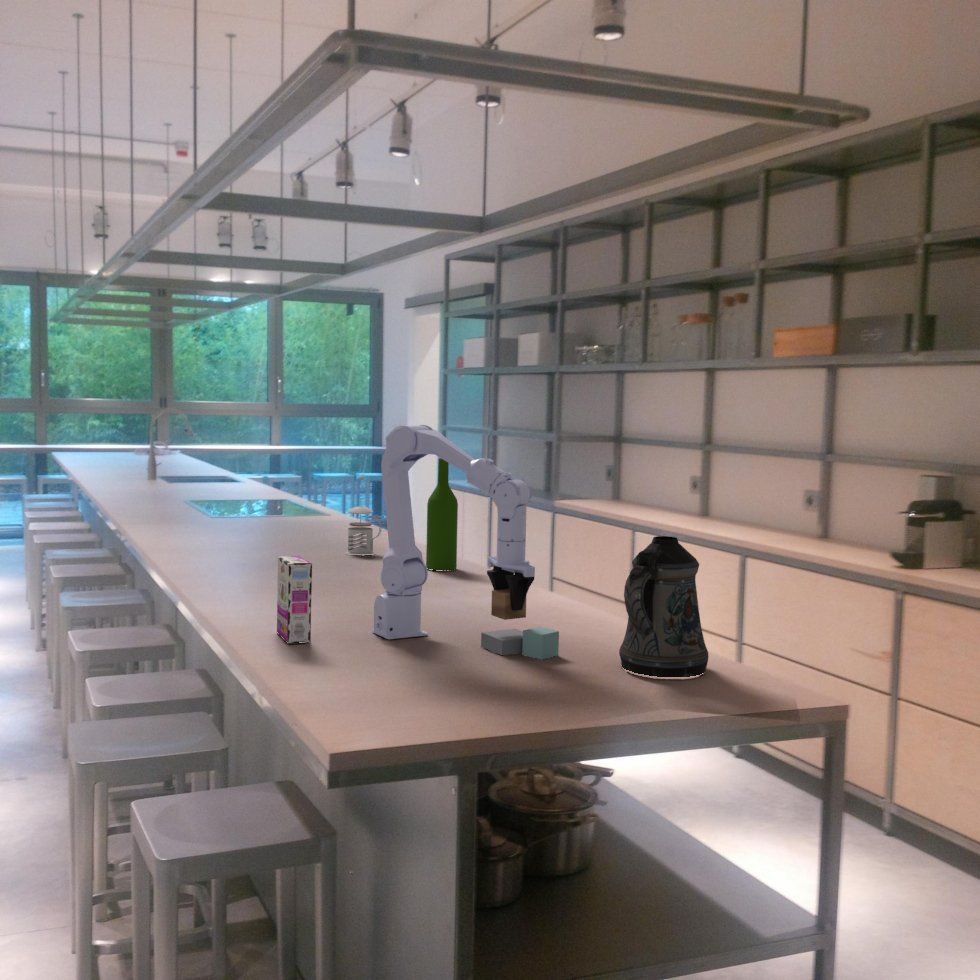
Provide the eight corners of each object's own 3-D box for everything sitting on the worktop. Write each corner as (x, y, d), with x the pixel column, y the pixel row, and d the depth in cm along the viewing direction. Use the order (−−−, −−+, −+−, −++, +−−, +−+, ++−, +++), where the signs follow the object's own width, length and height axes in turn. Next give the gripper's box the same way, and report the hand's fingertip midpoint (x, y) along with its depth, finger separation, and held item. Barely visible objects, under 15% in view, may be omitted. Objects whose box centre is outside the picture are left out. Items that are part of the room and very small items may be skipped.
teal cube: (541, 660, 200) (542, 634, 200) (522, 655, 204) (523, 630, 203) (558, 656, 204) (559, 631, 203) (539, 651, 207) (539, 627, 207)
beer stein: (708, 662, 201) (714, 534, 199) (706, 688, 183) (712, 547, 180) (623, 655, 205) (627, 530, 203) (612, 680, 186) (617, 542, 184)
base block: (501, 655, 203) (502, 640, 202) (481, 646, 209) (481, 632, 209) (536, 651, 207) (536, 636, 207) (514, 643, 214) (514, 628, 213)
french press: (349, 551, 337) (350, 474, 335) (384, 552, 336) (385, 475, 333) (340, 555, 327) (341, 476, 325) (376, 557, 326) (378, 477, 324)
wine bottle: (462, 570, 304) (464, 459, 302) (436, 572, 299) (438, 459, 297) (446, 565, 312) (448, 457, 309) (420, 568, 307) (422, 457, 304)
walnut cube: (504, 619, 204) (505, 594, 204) (491, 615, 208) (491, 590, 208) (525, 617, 207) (526, 592, 206) (512, 612, 211) (513, 588, 210)
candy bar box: (312, 643, 209) (313, 562, 208) (287, 645, 207) (288, 563, 206) (299, 631, 219) (300, 554, 218) (276, 633, 217) (276, 555, 216)
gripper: (548, 543, 202) (546, 612, 203) (508, 534, 215) (507, 599, 216) (517, 545, 198) (516, 615, 200) (479, 536, 211) (477, 602, 212)
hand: (509, 607), depth 207 cm, fingers closed on walnut cube, 5 cm apart
